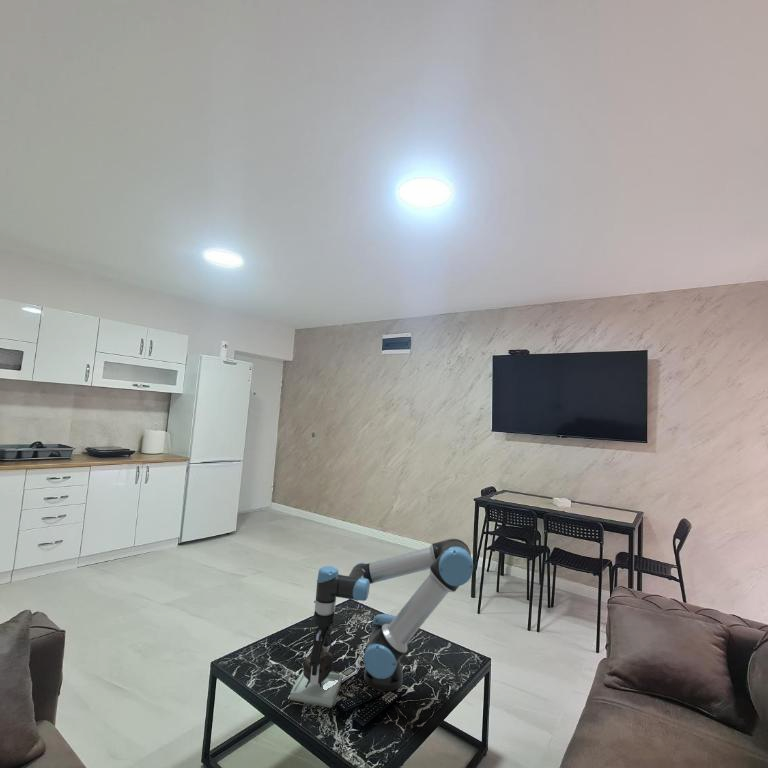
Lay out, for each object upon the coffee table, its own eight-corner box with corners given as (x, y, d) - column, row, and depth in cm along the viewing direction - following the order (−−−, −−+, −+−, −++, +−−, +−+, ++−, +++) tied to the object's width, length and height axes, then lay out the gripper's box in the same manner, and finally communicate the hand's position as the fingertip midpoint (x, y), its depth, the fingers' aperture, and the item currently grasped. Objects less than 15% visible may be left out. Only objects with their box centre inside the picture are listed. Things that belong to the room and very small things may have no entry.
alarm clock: (324, 675, 157) (328, 630, 159) (333, 682, 154) (337, 636, 155) (300, 686, 150) (305, 639, 151) (309, 694, 146) (314, 646, 147)
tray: (342, 681, 158) (343, 674, 158) (331, 707, 143) (332, 700, 143) (304, 674, 161) (304, 667, 161) (289, 699, 146) (290, 692, 146)
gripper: (323, 597, 166) (318, 654, 164) (304, 624, 144) (298, 691, 142) (342, 599, 165) (336, 658, 163) (325, 627, 142) (319, 695, 140)
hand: (318, 673), depth 152 cm, fingers closed on alarm clock, 11 cm apart
